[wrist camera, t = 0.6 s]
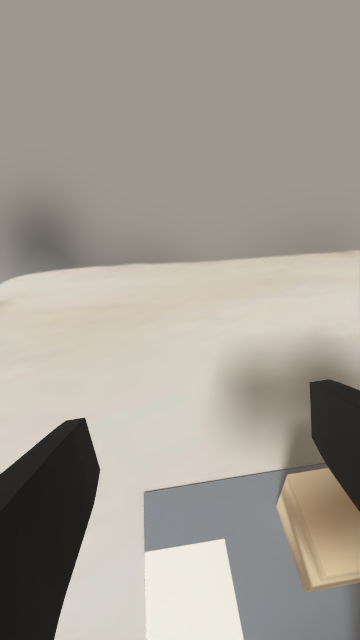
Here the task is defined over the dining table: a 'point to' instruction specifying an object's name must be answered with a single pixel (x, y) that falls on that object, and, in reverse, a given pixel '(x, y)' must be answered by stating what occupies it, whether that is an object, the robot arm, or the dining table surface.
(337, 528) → the maple block
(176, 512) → the slate mat
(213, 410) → the dining table surface
